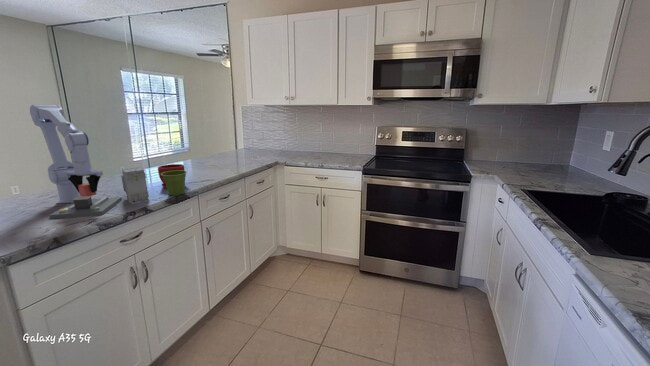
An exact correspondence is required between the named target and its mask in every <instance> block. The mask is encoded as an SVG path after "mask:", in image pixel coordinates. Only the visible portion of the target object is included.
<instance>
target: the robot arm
mask: <svg viewBox="0 0 650 366" xmlns="http://www.w3.org/2000/svg"><path fill="white" fill-rule="evenodd" d="M29 115H30V116H31V120H32V122H33V124H34V125H35V126H36V127H39V129H40V130H41V132H42V134H43V137H44V139H45V140H44V141H45V143H46V145H47V148H48V151H49V154H50V156H51V159H52V164H51V165H49V166H48V168H47V172H48V179H49V181H50V182H51V183H52V184H54V185H55V186H56V190H57V194H58V197H59V200H58V201H56V202H55V204H70V203H72V202H74V201H73V199H74V198H76V197H82V196H80V194H79V189H78V185H80V184H84V183H83V177H85V179H86V181H87V183H89V185H90V188H91V192H92V193H93V192H97V191H98V185H99V181H100V179H101V178H102V177H101V176H104V174H103V170H94V169H92V165H91V164H92V163H91V160H90V155H89V150H88V146H89V144H90V139H89V136H88V135H87V133H86V132H85V131H82V130H81V131H80V130H79V129H78V128H77V127H76V125H74V124H73V123H72V122H70V121H67V119H66V118H65V117H64V116H65V113H64V109H63V108H62V106H61V105H60V104H55V105H53V104H51V105H50V104H48V105H47V104H41V105H40V104H31V105H30V107H29ZM58 132H59V134H60V135H61V136H62V137H63V138H64V142H65V145H66V147H67V150H68V152H70V156H71V161H72V162H71V161H69V160H68V159H67V156H66V153H65V151H64V147H63V144H62V142H61V139H60V137H59V134H58Z"/></svg>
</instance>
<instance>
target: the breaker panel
mask: <svg viewBox="0 0 650 366" xmlns="http://www.w3.org/2000/svg"><path fill="white" fill-rule="evenodd" d="M91 199H92V204H93V205H92V206H90V208H85V209H75V205H74V202H72V203H68V204H67V205H66V206H65V205H64V206H63V207H61V208H60V209H59V208H58V210H56V211H54V212H52V213H51V214H48V217H49V219H50V220H51V219H61V218H63V219H64V218H76V217H77V216H78V217H88V216H87V215H91V216H102V215H101V214H103V215H105V214H106V213H107V212H108V211H109V210H111V209H112V208H114V207H115V206H116V205H117V204H119V203H120V202H121V201H122V200H123V199H122V196H121V197H120V196H119V197H118V196H117V197H109V196H103V198H91Z"/></svg>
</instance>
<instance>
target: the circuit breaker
mask: <svg viewBox="0 0 650 366" xmlns="http://www.w3.org/2000/svg"><path fill="white" fill-rule="evenodd" d="M121 173H122V175H121V176H120V177H121V181H122V187H123V191H124V193H125V194H126V201H128V202H129V203H130V204H133V205H134V204H137V203H143V202H147V201H150V196H149V195H150V194H149V190H148V184H147V176H146V172H145V169H144V168H142V167H131V168H124V169H121Z"/></svg>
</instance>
